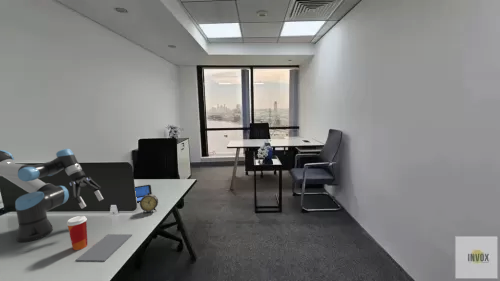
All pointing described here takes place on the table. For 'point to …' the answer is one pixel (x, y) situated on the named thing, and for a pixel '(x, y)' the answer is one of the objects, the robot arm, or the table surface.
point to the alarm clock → (149, 202)
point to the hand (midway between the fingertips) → (93, 203)
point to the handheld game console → (142, 191)
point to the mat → (104, 247)
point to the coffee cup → (78, 232)
